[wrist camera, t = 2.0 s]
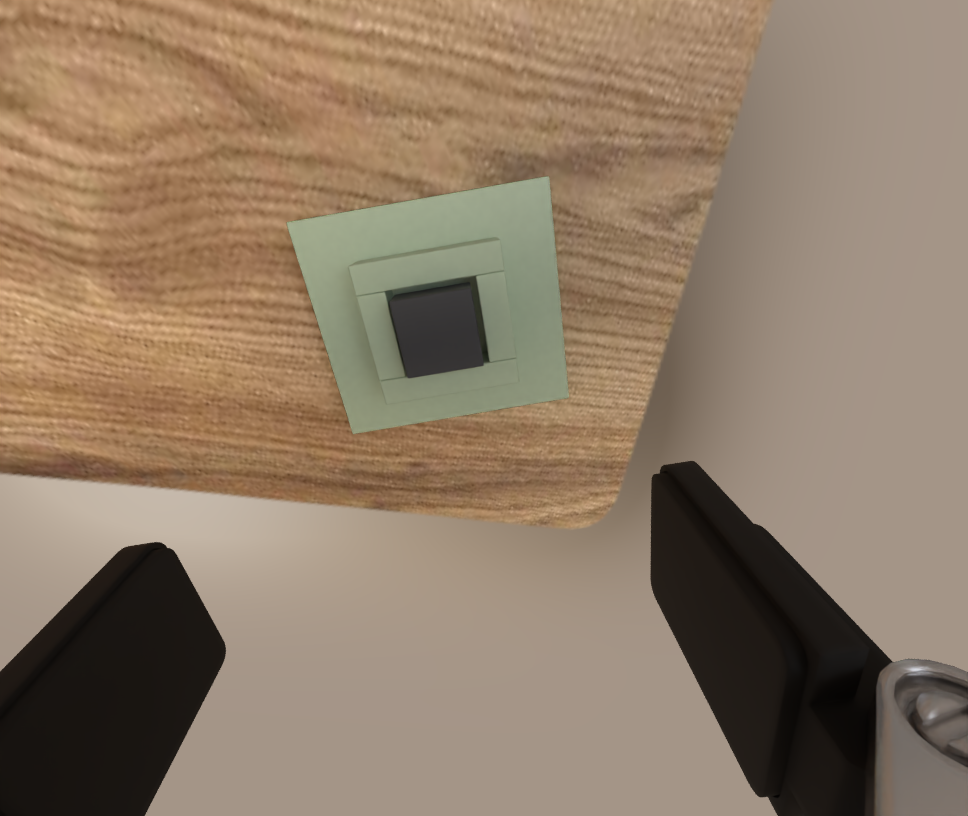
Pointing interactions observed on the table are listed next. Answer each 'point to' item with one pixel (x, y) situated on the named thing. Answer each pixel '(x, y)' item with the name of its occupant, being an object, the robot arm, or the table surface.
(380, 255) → the square socket base
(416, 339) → the key
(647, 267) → the table surface
